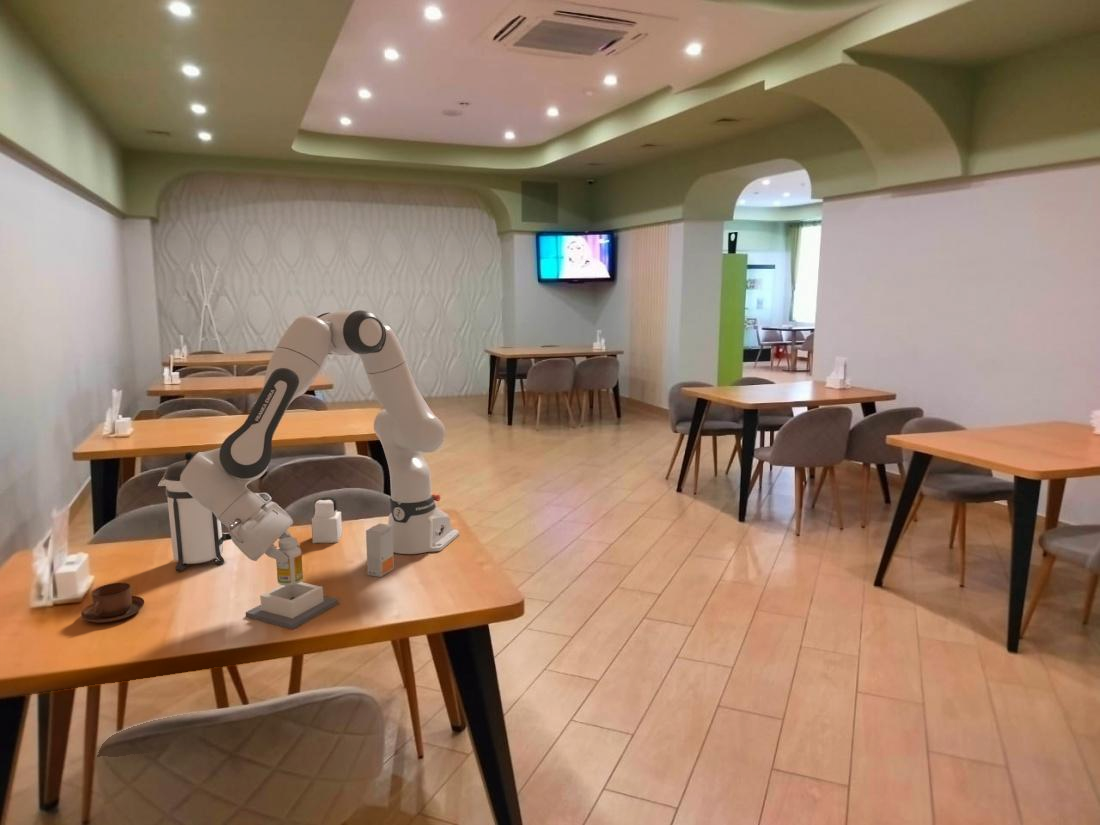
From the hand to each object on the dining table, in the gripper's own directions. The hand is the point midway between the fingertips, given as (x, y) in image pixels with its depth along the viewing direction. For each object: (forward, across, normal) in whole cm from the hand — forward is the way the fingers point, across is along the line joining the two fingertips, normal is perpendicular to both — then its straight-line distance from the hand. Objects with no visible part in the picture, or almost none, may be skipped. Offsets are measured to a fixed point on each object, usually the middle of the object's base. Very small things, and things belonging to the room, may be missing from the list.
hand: (291, 555), depth 159 cm
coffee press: (-14, +31, +33) cm, 48 cm away
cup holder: (+9, 0, +10) cm, 13 cm away
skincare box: (+20, +21, -2) cm, 29 cm away
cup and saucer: (-18, 0, +38) cm, 42 cm away
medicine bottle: (+6, +47, +13) cm, 49 cm away
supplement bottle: (+4, 0, +5) cm, 6 cm away
